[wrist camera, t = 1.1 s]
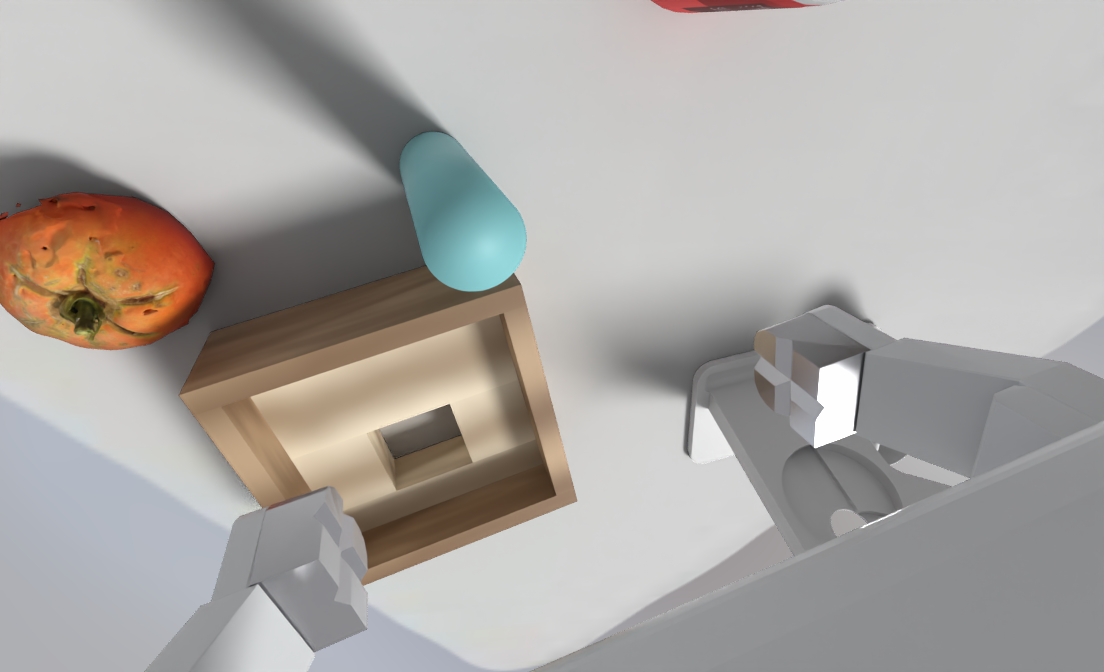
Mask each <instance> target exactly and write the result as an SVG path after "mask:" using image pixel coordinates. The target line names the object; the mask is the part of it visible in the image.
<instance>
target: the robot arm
mask: <svg viewBox="0 0 1104 672" xmlns="http://www.w3.org/2000/svg"><path fill="white" fill-rule="evenodd" d="M754 350H755V351H756V352H757V353H758V354H759V355H760V356H761V357H760V359H759V361H758V363H757V364H756V366H755V368H754V376H755V384H756V387H757V389H758V392H759V395H760V396H761V398H762V399H763V401H764V402H765V404H766V405H767V406H768V407H769V408H771V409H772V410H773V411H774V412H776V413H779V414H783V415H786V416H789V418H790V427H792V428H793V429H794V430H795V431H796V432H797V433H798V434H799V435H801V436H802V437H803V438H804V439H805V440H806V441H807V442H808V443H810V444H811V445H812V446H813V447H814V448H816V447H819V446H821V445H824V444H827V443H829V442H832V441H835V440H837V439H840V438H843V437H845V436H848V435H851V434H853V433H856V434H855V435H857V436H859V437H862V438H865V439H867V440H870V441H872V442H875V443H878V444H880V445H883V446H886V447H888V448H891V449H894V450H896V451H899V452H902V453H904V454H907V455H910V456H912V457H915V458H918V459H920V460H923V461H926V462H928V463H931V464H934V465H936V466H939V467H942V468H944V469H947V470H950V471H953V472H955V473H958V474H960V475H963V476H966V477H968V478H970V479H969V480H966V481H964V482H962V483H959V484H957V485H955V486H953V487H950V488H948V489H946V490H943V491H941V492H939V493H937V494H934V495H932V496H930V497H927V498H925V499H923V500H921V501H918V502H916V503H914V504H911V505H909V506H907V507H905V508H902V509H900V510H898V511H895V512H893V513H891V514H889V515H886V516H884V517H882V518H879V519H877V520H875V521H873V522H870V523H868V524H866V525H864V526H861V527H859V528H857V529H854V530H852V531H850V532H848V533H845V534H843V535H841V536H839V537H836V538H834V539H832V540H829V541H827V542H825V543H823V544H820V545H818V546H816V547H813V548H811V549H809V550H807V551H804V552H802V553H800V554H798V555H795V556H793V557H791V558H788V559H786V560H784V561H782V562H779V563H777V564H775V565H773V566H770V567H768V568H766V569H763V570H761V571H759V572H757V573H754V574H752V575H750V576H747V577H745V578H743V579H741V580H738V581H736V582H734V583H731V584H729V585H727V586H725V587H722V588H720V589H718V590H716V591H713V592H711V593H708V594H706V595H704V596H702V597H699V598H697V599H695V600H692V601H690V602H688V603H686V604H683V605H681V606H679V607H677V608H674V609H672V610H670V611H667V612H665V613H663V614H660V615H658V616H656V617H653V618H651V619H649V620H647V621H644V622H642V623H640V624H638V625H635V626H633V627H631V628H628V629H626V630H624V631H622V632H619V633H617V634H614V635H612V636H610V637H608V638H605V639H603V640H601V641H598V642H596V643H594V644H592V645H589V646H587V647H585V648H582V649H580V650H578V651H576V652H573V653H571V654H569V655H566V656H564V657H562V658H559V659H557V660H555V661H553V662H550V663H548V664H546V665H543V666H541V667H539V668H537V669H534V670H532V671H530V672H1104V379H1103V378H1100V377H1098V376H1096V375H1094V374H1092V373H1089V372H1087V371H1085V370H1083V369H1081V368H1078V367H1076V366H1074V365H1072V364H1070V363H1067V362H1062V361H1054V360H1048V359H1042V358H1035V357H1028V356H1022V355H1015V354H1009V353H1002V352H995V351H989V350H982V349H976V348H969V347H962V346H956V345H949V344H942V343H936V342H929V341H923V340H916V339H909V338H903V339H900V340H896V339H894V338H892V337H890V336H889V335H887V334H885V333H883V332H881V331H879V330H878V329H876V328H874V327H872V326H870V325H869V324H867V323H865V322H863V321H861V320H859V319H858V318H856V317H854V316H852V315H850V314H848V313H847V312H845V311H843V310H841V309H839V308H838V307H836V306H832V305H824V306H821V307H819V308H816V309H814V310H811V311H808V312H806V313H803V314H802V315H800V316H797V317H795V318H792V319H789V320H786V321H784V322H781V323H778V324H775V325H773V326H770V327H767V328H765V329H762V330H759V331H757V333H756V335H755V338H754ZM367 571H368V568H367V552H366V547H365V542H364V538H363V536H362V533H361V531H360V528H359V526H358V525H357V523H356V521H355V519H354V518H353V517H350V516H348V515H345V514H343V499H342V498H341V496H340V495H339V493H338V492H337V490H336V489H335V487H332V486H326V487H323V488H320V489H317V490H314V491H311V492H308V493H305V494H302V495H299V496H296V497H293V498H290V499H287V500H284V501H282V502H279V503H276V504H273V505H270V506H269V507H265V508H262V509H259V510H256V511H253V512H250V513H248V514H245V515H242V516H240V517H239V518H238V519H237V520H236V521H235V522H234V523H233V526H232V530H231V533H230V537H229V540H228V544H227V547H226V551H225V554H224V558H223V561H222V565H221V568H220V571H219V575H218V578H217V582H216V585H215V589H214V592H213V596H212V600H211V602H209V603H207V604H204V605H202V606H200V608H198V610H197V611H196V612H195V613H194V615H192V617H191V618H190V619H189V620H188V621H187V622H186V623H185V625H184V626H183V627H182V628H181V629H180V631H179V632H178V633H177V634H176V635H175V636H174V637H173V639H172V640H171V641H170V642H169V643H168V644H167V646H166V647H165V648H164V649H163V650H162V652H161V653H160V654H159V655H158V656H157V657H156V659H155V660H154V661H153V662H152V663H151V664H150V665H149V667H148V668H147V669H146V670H145V671H144V672H307V671H308V669H309V667H310V665H311V663H312V661H313V659H314V657H315V653H314V652H316V651H318V650H321V649H323V648H325V647H328V646H330V645H332V644H335V643H337V642H339V641H341V640H344V639H346V638H348V637H351V636H353V635H355V634H358V633H360V632H362V631H364V630H367V601H368V593H367V592H366V590H365V588H364V587H363V585H362V584H361V580H362V579H363V577H364V575H365V574H366V572H367Z"/></svg>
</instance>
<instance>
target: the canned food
mask: <svg viewBox="0 0 1104 672" xmlns="http://www.w3.org/2000/svg"><path fill="white" fill-rule="evenodd" d="M651 1H653V2H654V3H656V4H657V5H659V6H661V7H662V8H665V9H668V10H671V11H674V12H683V13H697V12H718V11H738V10H759V9H779V8H800V7H806V6H821V5H826V4H831V3H836V2H840V1H844V0H651Z"/></svg>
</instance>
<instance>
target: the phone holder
mask: <svg viewBox="0 0 1104 672" xmlns="http://www.w3.org/2000/svg"><path fill="white" fill-rule="evenodd" d="M867 324H869V325H870V326H872V327H874V328H876V329H878V330H879V331H881V332H882V330H881V329H880V328H879V327H877V326H876V325H874V324H872V323H867ZM760 357H761V356H760V355H759V354H758V353H757V352H756V351H755V350H753V351H749V352H745V353H741V354H737V355H733V356H729V357H724V358H720V359H716V360H712V361H709V362H706V363H705V364H703V365H702V366H700V367H699V369H698V370H697V371H696V373H695V375H694V377H693V386H692V398H691V410H690V423H689V435H688V447H687V450H688V451H689V457H690V458H691V459H692V460H693V462H695V463H696V464H705V463H709V462H712V461H716V460H719V459H723V458H726V457H729V456H733V455H735V456H736V458H737V459H738V461H739V463H740V464H741V466H742V468H743V470H744V471H745V473H746V475H747V476H748V478H749V480H750V482H751V483H752V485H753V487H754V489H755V490H756V492H757V494H758V495H759V497H760V499H761V501H762V502H763V504H764V506H765V507H766V509H767V511H768V513H769V514H770V516H771V518H772V519H773V521H774V523H775V525H776V526H777V528H778V530H779V531H780V533H781V535H782V537H783V538H784V540H785V542H786V543H787V545H788V547H789V549H790V550H791V552H792V554H793V555H794V556H795V555H798V554H800V553H802V552H804V551H807V550H809V549H811V548H813V547H816V546H818V545H820V544H823V543H825V542H827V541H829V540H832V539H834V538H836V535H835V533H834V532H833V529H832V526H831V516H832V514H833V513H834V512H836V511H839V510H847V511H851V512H853V513H855V514H857V515H859V516H860V517H861V518H862V519H864V520H865V522H866V523H867V524H868V523H870V522H873V521H875V520H877V519H879V518H882V517H884V516H886V515H889V514H891V513H893V512H895V511H898V510H900V509H902V508H905V507H907V506H909V505H911V504H914V503H916V502H918V501H921V500H923V499H925V498H927V497H930V496H932V495H934V494H937V493H939V492H941V491H943V490H946V489H948V488H950V487H952V486H948V485H945V484H941V483H938V482H934V481H931V480H927V479H924V478H920V477H917V476H913V475H909V474H905V473H902V472H900V471H898V470H896V469H894V468H892V467H891V465H893V464H895V463H897V462H899V461H901V460H902V459H903V458H904V457H906V456H907V454H904V453H902V452H899V451H896V450H894V449H891V448H888V447H886V446H883V445H880V444H878V443H875V442H872V441H870V440H867V439H865V438H862V437H859V436H857V435H855V434H856V433H853V434H851V435H848V436H845V437H843V438H840V439H837V440H835V441H832V442H829V443H827V444H824V445H821V446H819V447H816V448H814V447H813V446H812V445H811V444H810V443H808V442H807V441H806V440H805V439H804V438H803V437H802V436H801V435H799V434H798V433H797V432H796V431H795V430H794V429H793V428H792V427H790V418H789V416H786V415H783V414H779V413H776V412H774V411H773V410H772V409H771V408H769V407H768V406H767V405H766V404H765V402H764V401H763V399H762V398H761V396H760V395H759V392H758V389H757V387H756V384H755V376H754V368H755V366H756V364H757V363H758V361H759V359H760Z"/></svg>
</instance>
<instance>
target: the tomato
mask: <svg viewBox="0 0 1104 672" xmlns="http://www.w3.org/2000/svg"><path fill="white" fill-rule="evenodd" d="M39 201H40V202H41V204H42V205H40V206H37V207H34V208H32V209H29V210H26V211H22V212H19V213H16V214H14V215H12V216H11V217H9V218H7V216H8V212H6V213H2V214H1V215H0V303H1V305H2V306H3V307H4V308H5V309H6V311H8V312H9V313H10V314H11V315H12V316H13V317H14V318H16V319H17V320H18V321H20V323H22V324H23V325H24V326H25V327H27V328H28V329H29V330H31V331H33V332H35V333H37V334H40V335H44V336H49V337H52V338H56V339H59V340H62V341H65V342H67V343H70V344H73V345H75V346H79V347H83V348H90V349H104V350H119V349H126V348H131V347H137V346H142V345H147V344H151V343H153V342H155V341H157V340H159V339H161V338H163V337H164V336H166V335H167V334H169V333H171V332H173V331H175V330H177V329H179V328H181V327H183V326H185V325H187V324H188V323H189V319H190V318H191V317H192V316H193V315H194V314H195V313H196V312H197V311H198V309H199V306H200V304H201V302H202V300H203V298H204V295H205V293H206V290H207V288H208V286H209V283H210V281H211V278H212V273H213V269H214V265H215V263H214V262H213V261H212V259H211V258H210V257H209V256H208V254H207V253H206V252H205V250H204V249H203V248H202V247H201V245H200V244H199V243H198V241H197V240H196V239H195V237H194V236H193V235H192V234H191V232H190V231H189V230H187V229H186V228H185V227H184V226H183V225H182V224H181V223H180V222H179V221H177V220H176V219H175V218H174V217H173V216H172V215H171V214H170V213H169V212H167V211H165V210H163V209H160V208H158V207H156V206H153V205H151V204H149V203H146V202H144V201H142V200H139V199H137V198H135V197H122V196H110V195H98V194H87V193H79V192H73V193H67V194H61V195H57V196H54V197H51V198H48V199H39ZM20 205H21V204H19V203H17V206H16V207H20ZM6 218H7V219H6Z"/></svg>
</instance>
